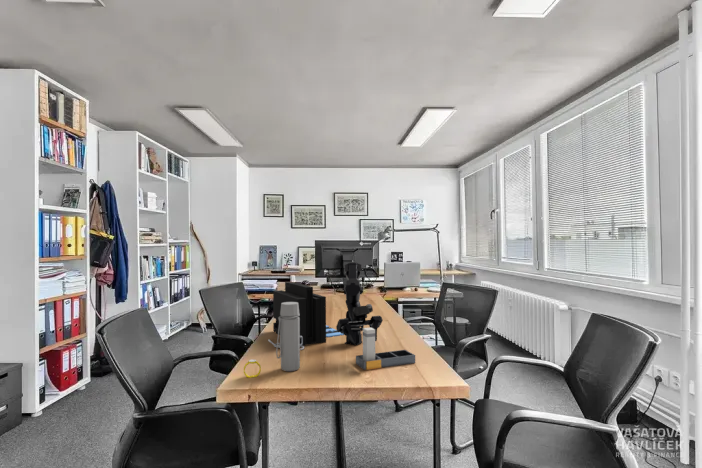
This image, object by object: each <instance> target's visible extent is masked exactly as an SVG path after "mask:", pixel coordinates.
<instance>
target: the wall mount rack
mask: <svg viewBox="0 0 702 468" xmlns="http://www.w3.org/2000/svg"><path fill="white" fill-rule="evenodd" d="M300 338H301V341H302V343H301V344H300V351H302V350H304V349H305V346H301V345H302V344H303V337H302V336H300ZM267 341H268V342H269V343H270V344H272V346H273V347H274V348H277V343H274V342H273V341H271V339H268V340H267ZM278 349H280V342H278Z"/></svg>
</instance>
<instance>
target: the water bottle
mask: <svg viewBox="0 0 702 468" xmlns="http://www.w3.org/2000/svg"><path fill="white" fill-rule="evenodd" d="M280 315H281V316H280V317H282V318H280V317H278V319H279V328H280V335H279V329H278V334H277V340H276V344H277V345H276V346H277V347H275V348H276V350H275V354H276V359H280V369H281V370H282V371H285V372H295V371H297V370H299V369H300V366H301V365H300V364H301V362H300V361H301V359H300V357H301V353H300V351H301V350H300V349H301V347H300V318H299V317H298V316H300V314H299V305H298V302H284V303H281V311H280ZM280 322H281V327H280ZM278 343H280V344H278ZM278 345H280V348H278ZM278 349H280V350H279V353H280V354H278Z"/></svg>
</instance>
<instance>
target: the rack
mask: <svg viewBox="0 0 702 468" xmlns="http://www.w3.org/2000/svg"><path fill="white" fill-rule="evenodd" d="M415 363H416V354H415V353H412V352H411V351H408V350H407V349H399V350H393V351H392V350H391V351H383V352H382V351H381V352H375V360H370V361H364V360H363V354H359V355H355V365H357V366H358V367H359V368H360V369H362V370H364V371H369V370H371V371H372V370H375V369H376V370H377V369H382V368H389V367H395V366H403V365H409V364H415Z"/></svg>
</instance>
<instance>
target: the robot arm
mask: <svg viewBox="0 0 702 468" xmlns="http://www.w3.org/2000/svg"><path fill="white" fill-rule="evenodd" d="M344 273H345V276H346V281H345V286H344V287H343V295H345V305H346V308H347V311H346V312H345V317H343V318H340V319H338V321H337V324H336V326H335V327H336V329H335V330H337V332H341V334H342V333H343V334H344V335H343V336H345V339H346V340H345V342H344V345H351V346H359V345H360V344H363V333H362V332H363V328H365V327H364V326H368V328H370V327H371V328H373V329H375V342H377V340H378V329H379V328H380V326H381V325H382V323H383V318H382V316H381V315H372V316H371V318H370V319H367V318H368V315H369V314H370V313H372V312H373V311H374V309H373V308H374V307H373V306H372V304H371V303H368V304H366V305H361V302H360V298H361V295H362V294H363V293H364V289H363V287H362V285H361V282H360V281H359V280H360V278H361V274H362V264H360V263H358V262H350V261H349V262H347V264H346V263H345V264H344Z"/></svg>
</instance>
